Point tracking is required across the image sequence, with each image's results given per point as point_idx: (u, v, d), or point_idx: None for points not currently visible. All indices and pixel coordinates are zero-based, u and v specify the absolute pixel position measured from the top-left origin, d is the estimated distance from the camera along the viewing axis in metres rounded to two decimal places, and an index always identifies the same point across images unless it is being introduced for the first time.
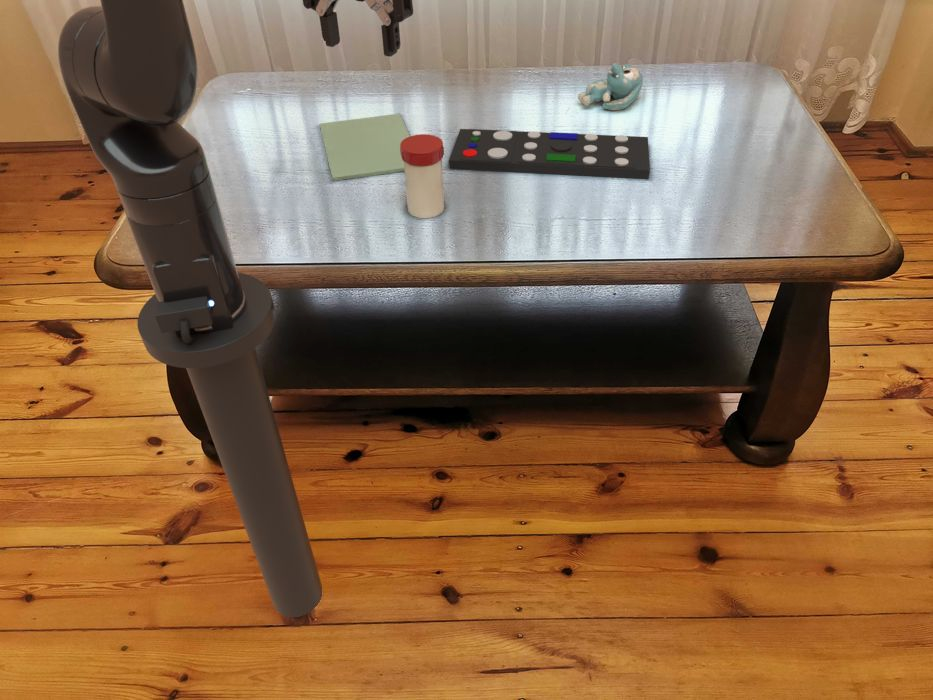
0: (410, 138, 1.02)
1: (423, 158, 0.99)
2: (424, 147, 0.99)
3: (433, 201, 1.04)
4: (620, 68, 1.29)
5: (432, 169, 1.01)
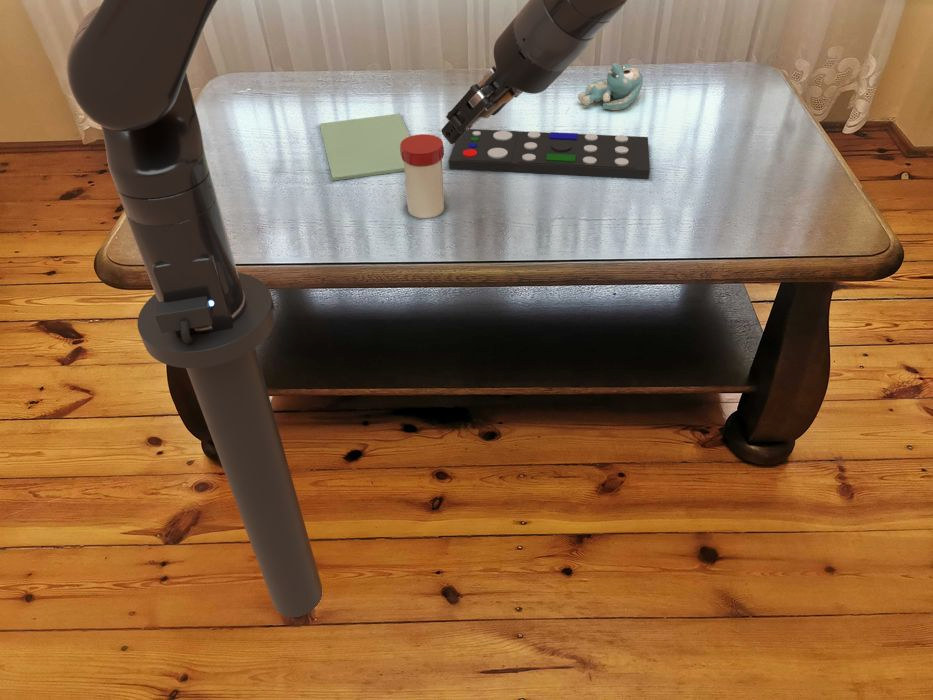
0: (410, 138, 1.02)
1: (423, 158, 0.99)
2: (424, 147, 0.99)
3: (433, 201, 1.04)
4: (620, 68, 1.29)
5: (432, 169, 1.01)
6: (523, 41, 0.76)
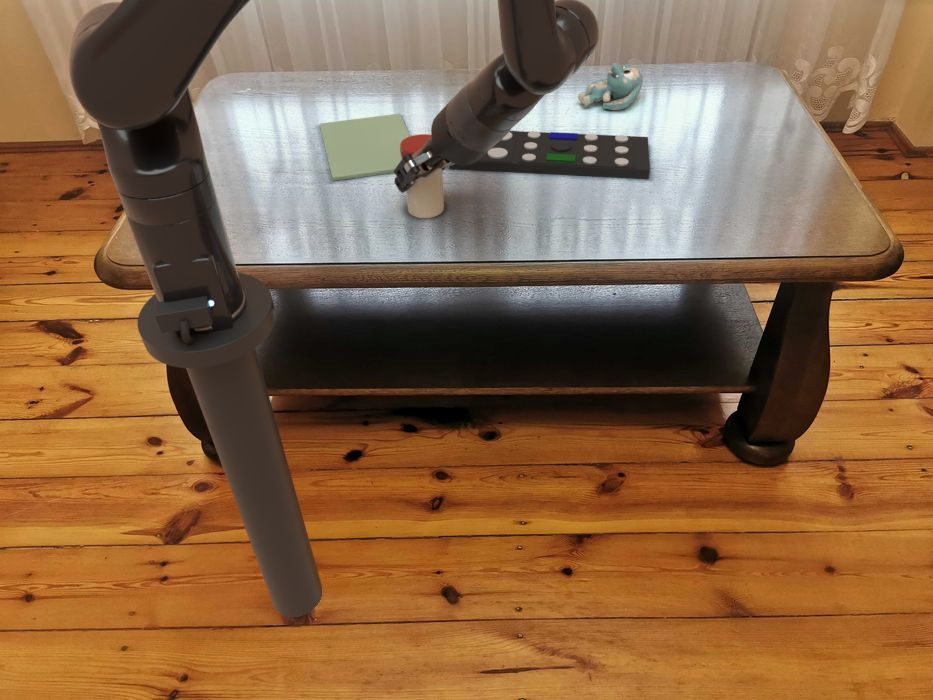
0: (410, 138, 1.02)
1: None
2: None
3: (433, 201, 1.04)
4: (620, 68, 1.29)
5: None
6: (450, 123, 0.89)
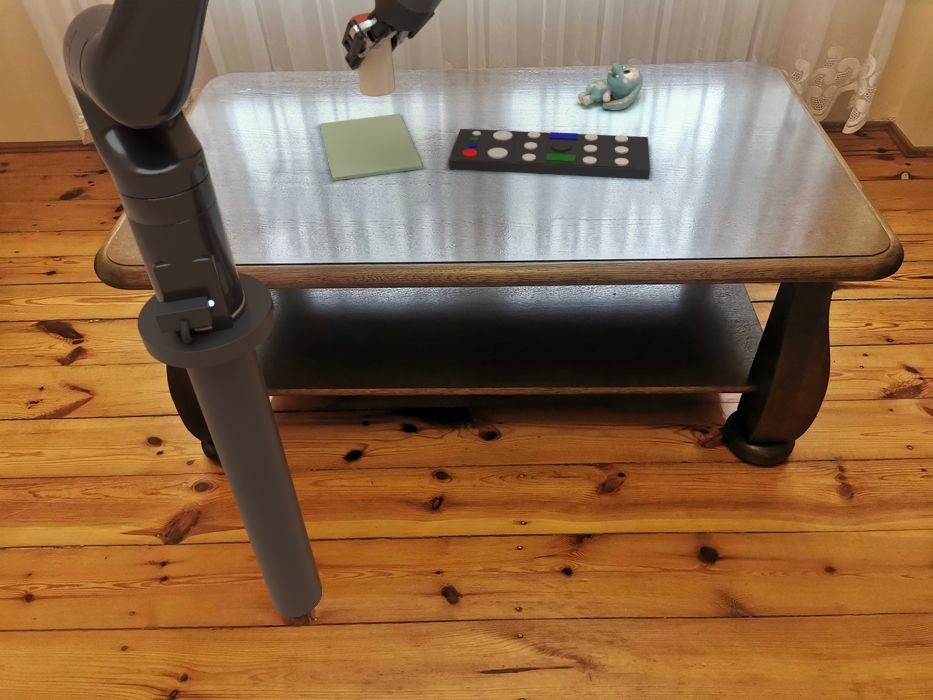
0: (360, 15, 1.05)
1: None
2: None
3: (383, 78, 1.07)
4: (620, 68, 1.29)
5: None
6: None
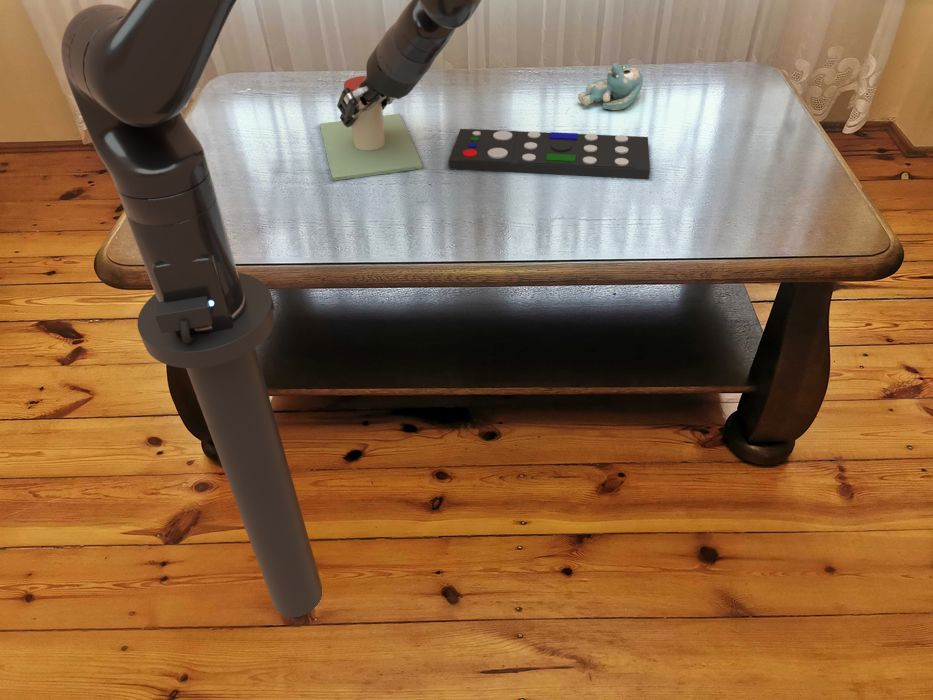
0: (353, 79, 1.16)
1: None
2: None
3: (375, 134, 1.18)
4: (620, 68, 1.29)
5: None
6: (380, 58, 1.03)
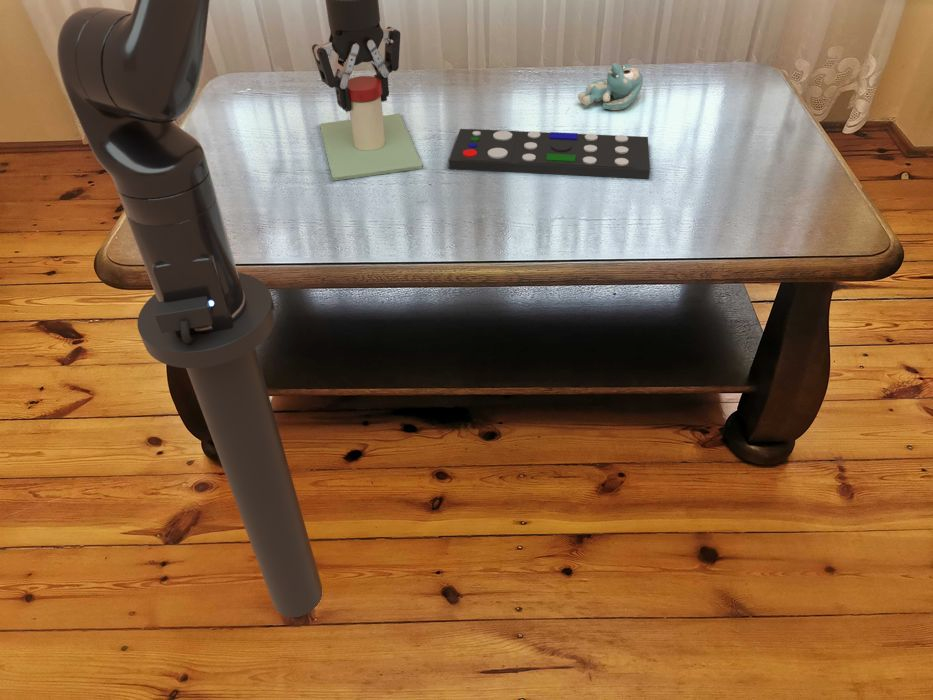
0: (353, 79, 1.16)
1: (363, 95, 1.14)
2: (364, 85, 1.14)
3: (375, 135, 1.18)
4: (620, 68, 1.29)
5: (372, 105, 1.15)
6: None
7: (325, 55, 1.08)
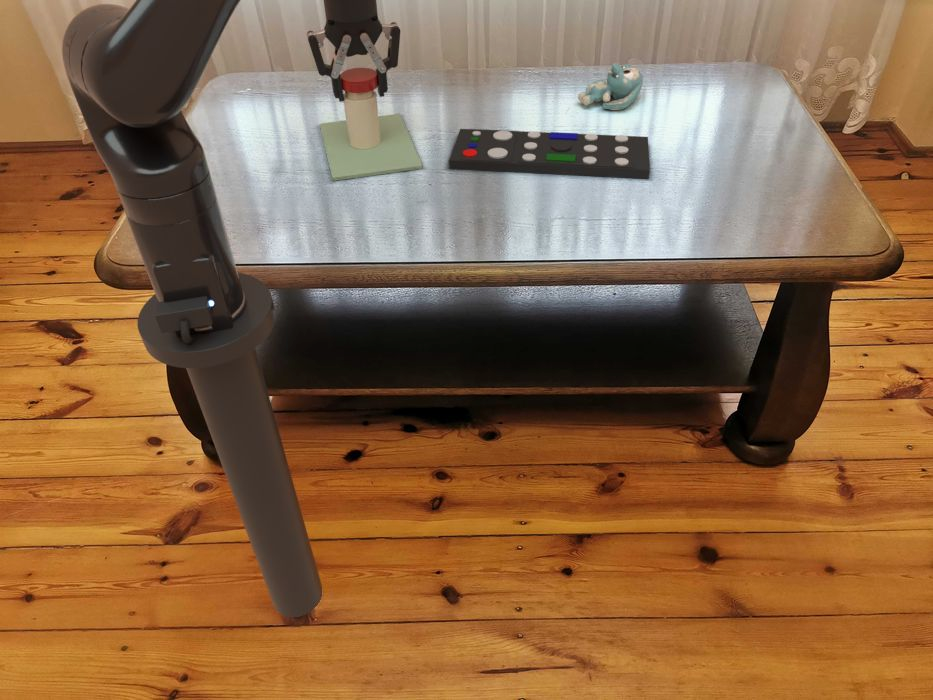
0: (363, 79, 1.13)
1: None
2: (359, 71, 1.16)
3: (372, 132, 1.19)
4: (620, 68, 1.29)
5: (370, 103, 1.16)
6: None
7: None
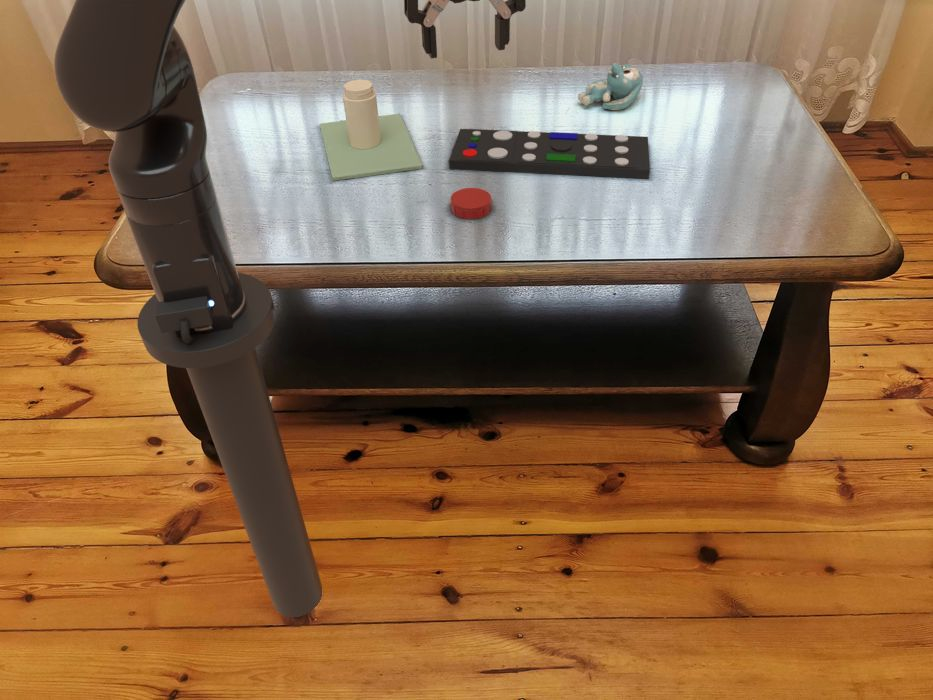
0: (477, 205, 1.04)
1: None
2: (470, 193, 1.06)
3: (372, 132, 1.19)
4: (620, 68, 1.29)
5: (370, 103, 1.16)
6: None
7: None
